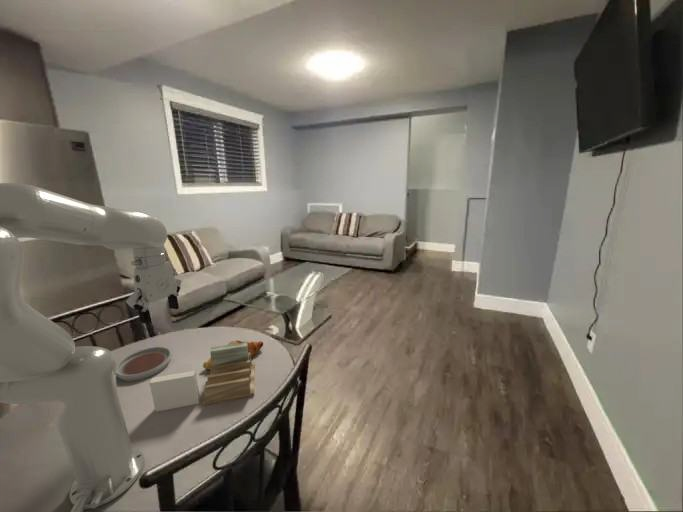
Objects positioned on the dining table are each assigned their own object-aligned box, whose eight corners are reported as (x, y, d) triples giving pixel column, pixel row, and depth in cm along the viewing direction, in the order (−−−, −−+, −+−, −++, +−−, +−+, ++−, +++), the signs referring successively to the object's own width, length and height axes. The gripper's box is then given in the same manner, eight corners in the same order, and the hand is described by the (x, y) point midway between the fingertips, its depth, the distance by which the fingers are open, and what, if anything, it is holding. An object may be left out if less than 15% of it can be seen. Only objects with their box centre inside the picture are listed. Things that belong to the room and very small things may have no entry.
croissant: (207, 384, 95) (207, 372, 90) (198, 359, 101) (197, 346, 96) (267, 358, 108) (269, 346, 103) (256, 337, 113) (258, 325, 108)
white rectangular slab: (198, 403, 82) (193, 375, 80) (155, 411, 80) (149, 383, 77) (200, 397, 84) (195, 370, 82) (158, 406, 82) (152, 377, 79)
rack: (254, 395, 85) (250, 365, 82) (203, 405, 82) (198, 374, 79) (254, 364, 99) (252, 338, 96) (211, 372, 95) (207, 344, 93)
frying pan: (70, 372, 94) (167, 340, 110) (73, 379, 94) (169, 346, 111) (65, 402, 81) (176, 361, 98) (68, 410, 82) (177, 368, 98)
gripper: (131, 270, 72) (144, 331, 76) (185, 253, 88) (193, 305, 92) (109, 268, 74) (123, 327, 78) (165, 252, 90) (174, 302, 94)
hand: (161, 315), depth 85 cm, fingers open, 9 cm apart
